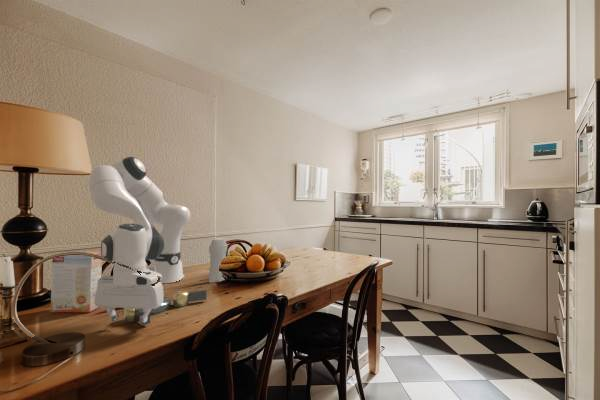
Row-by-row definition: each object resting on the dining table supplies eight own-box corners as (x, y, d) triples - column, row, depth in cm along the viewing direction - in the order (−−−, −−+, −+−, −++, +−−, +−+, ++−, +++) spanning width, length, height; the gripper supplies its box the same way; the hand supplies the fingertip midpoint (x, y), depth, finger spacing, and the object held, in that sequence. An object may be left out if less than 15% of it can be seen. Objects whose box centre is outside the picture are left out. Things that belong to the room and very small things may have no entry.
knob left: (172, 307, 102) (173, 295, 103) (172, 303, 107) (172, 291, 108) (206, 303, 108) (207, 291, 108) (204, 298, 113) (205, 288, 113)
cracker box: (101, 307, 103) (103, 251, 104) (89, 313, 97) (91, 253, 98) (64, 306, 103) (66, 250, 104) (49, 312, 97) (51, 253, 98)
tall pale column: (224, 278, 147) (224, 236, 147) (228, 279, 144) (229, 237, 145) (206, 282, 138) (207, 238, 139) (210, 283, 136) (211, 239, 136)
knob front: (120, 319, 91) (120, 306, 91) (138, 314, 96) (138, 301, 96) (137, 329, 84) (138, 315, 84) (156, 323, 89) (156, 309, 89)
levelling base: (123, 310, 100) (124, 297, 100) (158, 300, 111) (159, 288, 111) (142, 318, 93) (142, 304, 93) (177, 307, 104) (178, 294, 104)
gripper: (89, 278, 83) (88, 324, 83) (155, 280, 82) (154, 327, 81) (105, 273, 89) (104, 316, 89) (166, 274, 88) (165, 318, 88)
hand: (128, 321), depth 85 cm, fingers open, 8 cm apart
